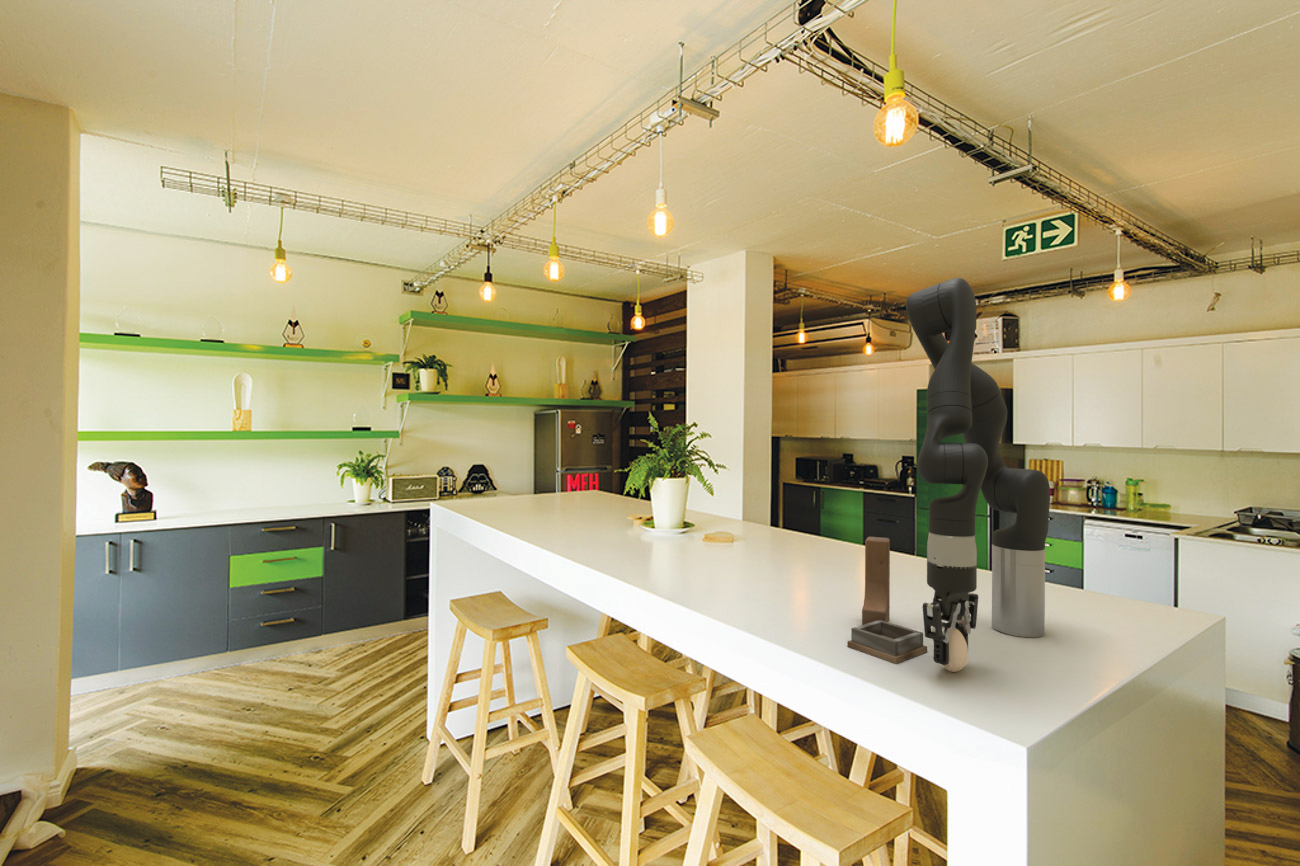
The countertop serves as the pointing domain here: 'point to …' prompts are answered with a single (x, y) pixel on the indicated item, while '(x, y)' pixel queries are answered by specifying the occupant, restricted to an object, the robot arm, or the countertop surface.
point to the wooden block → (876, 580)
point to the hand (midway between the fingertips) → (951, 658)
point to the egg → (957, 651)
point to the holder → (887, 641)
